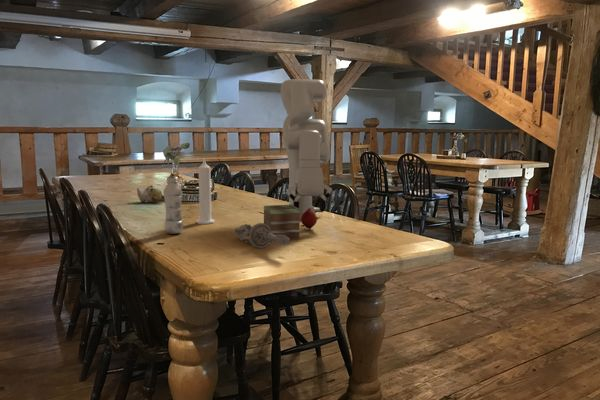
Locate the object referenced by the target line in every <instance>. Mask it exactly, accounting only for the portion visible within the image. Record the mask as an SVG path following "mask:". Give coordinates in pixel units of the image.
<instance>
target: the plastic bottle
mask: <svg viewBox="0 0 600 400" xmlns="http://www.w3.org/2000/svg"><path fill="white" fill-rule="evenodd" d="M166 183H167V185H166V186H165V188H164V189H163V193H162V194H163V196H164V199H165V201H164V204H165V222H164V230H165V233H167V234H171V235H177V234H181V233H182V232H183V230H184V221H183V216H182V199H183V190H182V188H181V187H180V185H179V184H178V183H179V179H178V176H167V177H166Z"/></svg>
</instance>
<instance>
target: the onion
mask: <svg viewBox="0 0 600 400" xmlns="http://www.w3.org/2000/svg"><path fill="white" fill-rule="evenodd" d="M317 217H318V216H317V214H316V213H314V212H313V211H311V208H308V209H307V211H305V212H304V213H303V214H302V217H301V220H300V223H301V224H302V225H303V226H304V227H305V229H307V230H310V229H312V228H313V227H315V225H316V224H317V221H318V218H317Z"/></svg>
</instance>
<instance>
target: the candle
mask: <svg viewBox="0 0 600 400" xmlns="http://www.w3.org/2000/svg"><path fill="white" fill-rule="evenodd" d="M206 161H207V160H206V158H203V160H202V163H201V165H199V166H198V200H199V201H198V202H199V219H197V220H196V223H197V224H200V225H210V224H214V223H215V222H216V220H215V219H214V218H212V187H211V185H212V184H211V180H212V179H211V174H212V173H211V166H209V165H208V164H207V162H206Z"/></svg>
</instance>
